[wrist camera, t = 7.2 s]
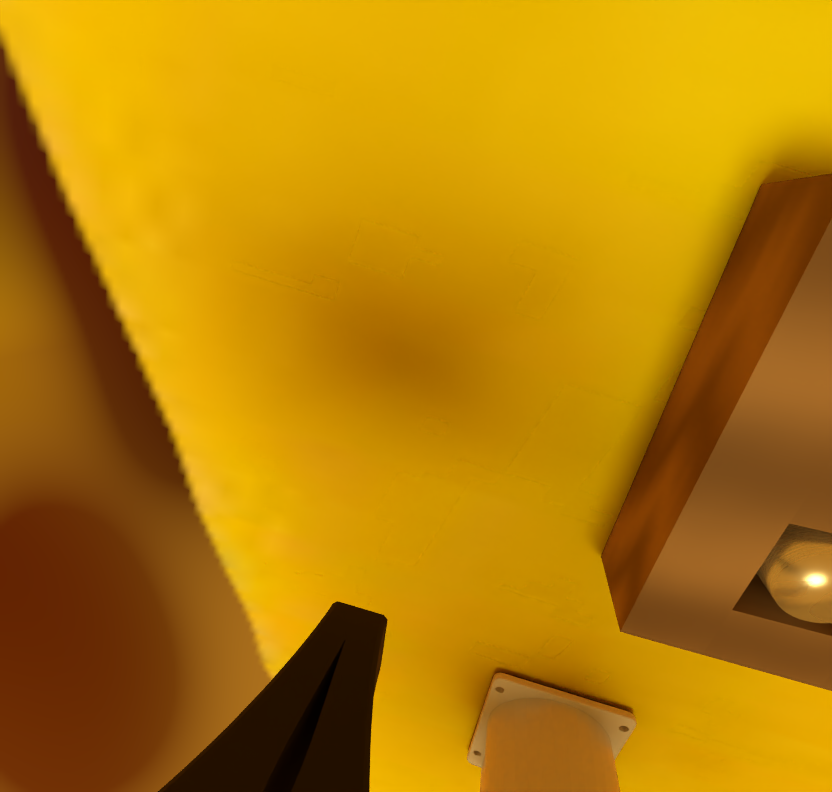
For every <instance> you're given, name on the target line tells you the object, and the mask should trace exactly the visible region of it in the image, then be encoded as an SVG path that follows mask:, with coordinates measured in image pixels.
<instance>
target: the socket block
mask: <svg viewBox="0 0 832 792" xmlns="http://www.w3.org/2000/svg"><path fill="white" fill-rule="evenodd" d="M789 524H794V525H798V526H803V527H807V528H811V529H816V530H820V531H824V532H829V533H832V174H827V175H820V176H813V177H807V178H800V179H793V180H787V181H780V182H773V183H767V184H762V185H761V187H760V189H759V192H758V194H757V196H756V199H755V201H754V203H753V206H752V208H751V210H750V212H749V215H748V217H747V219H746V222H745V224H744V226H743V229H742V231H741V233H740V236H739V238H738V240H737V243H736V245H735V247H734V250H733V252H732V254H731V257H730V259H729V261H728V263H727V266H726V268H725V270H724V273H723V275H722V277H721V280H720V282H719V284H718V287H717V289H716V291H715V294H714V296H713V298H712V301H711V303H710V305H709V308H708V310H707V312H706V314H705V317H704V319H703V321H702V324H701V326H700V328H699V331H698V333H697V335H696V338H695V340H694V342H693V345H692V347H691V349H690V352H689V354H688V356H687V359H686V361H685V363H684V365H683V368H682V370H681V372H680V375H679V377H678V379H677V382H676V384H675V386H674V389H673V391H672V393H671V396H670V398H669V400H668V403H667V405H666V407H665V410H664V412H663V414H662V416H661V419H660V421H659V423H658V426H657V428H656V430H655V433H654V435H653V437H652V440H651V442H650V444H649V447H648V449H647V451H646V454H645V456H644V458H643V461H642V463H641V465H640V467H639V470H638V472H637V474H636V477H635V479H634V481H633V484H632V486H631V488H630V491H629V493H628V495H627V498H626V500H625V502H624V505H623V507H622V509H621V512H620V514H619V516H618V518H617V521H616V523H615V525H614V528H613V530H612V532H611V535H610V537H609V539H608V542H607V544H606V546H605V549H604V551H603V553H602V556H601V558H602V562H603V565H604V569H605V573H606V577H607V581H608V585H609V589H610V593H611V597H612V601H613V605H614V609H615V613H616V617H617V620H618V624H619V628H620V632H624V633H627V634H631V635H634V636H638V637H641V638H645V639H649V640H652V641H656V642H659V643H663V644H666V645H670V646H674V647H677V648H681V649H684V650H688V651H691V652H695V653H699V654H702V655H706V656H709V657H713V658H716V659H720V660H724V661H727V662H731V663H734V664H738V665H741V666H745V667H748V668H752V669H756V670H759V671H763V672H766V673H770V674H773V675H777V676H781V677H784V678H788V679H791V680H795V681H798V682H802V683H806V684H809V685H813V686H816V687H820V688H823V689H827V690H831V691H832V623H815V622H809V621H804V620H801V619H798V618H795V617H793V616H791V615H789V614H788V613H786V612H785V611H783V610H782V609H781V608H780V607H779V605H778V604H777V603H776V601H775V600H774V598H773V597H772V595H771V594H770V593H769V591H768V590H767V588H766V587H765V585H764V584H763V582H762V581H761V579H760V578H759V576H758V575H757V574H756V573H757V571H758V570H759V568H760V567H761V565H762V564H763V562H764V561H765V559H766V558H767V556H768V555H769V553H770V552H771V550H772V549H773V547H774V546H775V544H776V543H777V541H778V540H779V538H780V537H781V535H782V534H783V532H784V531H785V529H786V528H787V526H788V525H789Z"/></svg>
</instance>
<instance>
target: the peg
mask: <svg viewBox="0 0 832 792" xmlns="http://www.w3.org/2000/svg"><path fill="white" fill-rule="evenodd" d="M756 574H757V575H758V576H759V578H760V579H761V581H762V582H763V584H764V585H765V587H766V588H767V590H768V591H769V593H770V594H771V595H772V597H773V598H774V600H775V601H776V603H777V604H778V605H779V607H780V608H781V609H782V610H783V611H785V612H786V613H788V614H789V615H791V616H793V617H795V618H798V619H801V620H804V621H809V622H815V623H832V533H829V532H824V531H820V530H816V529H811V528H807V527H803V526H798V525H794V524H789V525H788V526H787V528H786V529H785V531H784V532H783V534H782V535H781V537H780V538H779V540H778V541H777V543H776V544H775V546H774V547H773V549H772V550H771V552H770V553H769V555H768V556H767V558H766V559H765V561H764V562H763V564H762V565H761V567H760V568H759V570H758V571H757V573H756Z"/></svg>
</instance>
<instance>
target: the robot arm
mask: <svg viewBox="0 0 832 792" xmlns="http://www.w3.org/2000/svg"><path fill="white" fill-rule="evenodd" d="M386 626H387V619H386V617H385V616H384V615H382V614H378V613H375V612H371V611H368V610H365V609H361V608H358V607H355V606H351V605H348V604H345V603H341V602H335V603H333V604H332V606H331V607H330V609H329V610H328V612H327V613H326V615H325V616H324V617H323V619H322V620H321V621H320V623H319V624H318V625H317V627H316V628H315V629H314V631H313V632H312V633H311V634H310V636H309V637H308V638H307V639H306V641H305V642H304V643H303V644H302V645H301V647H300V648H299V649H298V650H297V652H296V653H295V654H294V655H293V656H292V657H291V659H290V660H289V661H288V662H287V663H286V664H285V665H284V667H283V668H282V669H281V670H280V671H279V672H278V674H277V675H276V676H275V677H274V678H273V679H272V680H271V682H270V683H269V684H268V685H267V686H266V687H265V688H264V689H263V690H262V691H261V692H260V694H259V695H258V696H257V697H256V698H255V699H254V700H253V701H252V702H251V703H250V704H249V705H248V706H247V707H246V708H245V709H244V710H243V711H242V712H241V714H239V716H238V717H237V718H236V719H235V720H234V721H233V722H232V723H231V724H230V725H229V726H228V727H227V728H226V729H225V730H224V731H223V732H222V733H221V734H220V735H219V736H218V737H217V738H216V739H215V740H214V741H213V742H212V743H211V744H209V746H207V747H206V749H204V750H203V751H202V752H201V753H200V754H199V755H198V756H197V757H196V758H195V759H194V760H193V761H191V762H190V763H189V764H188V765H187V766H186V767H185V768H184V769H183V770H182V771H181V772H180V773H178V774H177V775H176V776H175V777H174V778H173V779H172V780H171V781H169V782H168V783H167V784H166V785H165V786H164V787H163V788H162V789H160V791H158V792H369V776H370V742H371V723H372V709H373V697H374V692H375V687H376V683H377V679H378V675H379V671H380V667H381V661H382V654H383V647H384V640H385V633H386ZM636 724H637V723H636V719H635V716H634V715H633V714H632V713H630V712H628V711H625V710H622V709H618V708H615V707H612V706H609V705H605V704H602V703H599V702H596V701H592V700H589V699H586V698H583V697H579V696H576V695H573V694H569V693H566V692H563V691H560V690H556V689H553V688H550V687H547V686H543V685H540V684H537V683H534V682H530V681H527V680H524V679H521V678H517V677H514V676H511V675H508V674H504V673H497V674H495V675H494V676H493V679H492V682H491V685H490V688H489V691H488V694H487V697H486V700H485V703H484V706H483V709H482V712H481V715H480V718H479V721H478V724H477V727H476V730H475V732H474V735H473V738H472V741H471V744H470V747H469V750H468V755H467V760H468V761H469V763H471V764H473V765H475V766H478V767H481V768H482V769H481V784H480V792H620V788H619V783H618V778H617V772H616V767H615V761H614V760H615V759H616V757H617V755H618V754H619V752H620V751H621V749H622V747H623V746H624V744H625V743H626V741H627V739H628V738H629V736H630V735H631V733H632V732H633V730H634V728H635V727H636Z"/></svg>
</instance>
